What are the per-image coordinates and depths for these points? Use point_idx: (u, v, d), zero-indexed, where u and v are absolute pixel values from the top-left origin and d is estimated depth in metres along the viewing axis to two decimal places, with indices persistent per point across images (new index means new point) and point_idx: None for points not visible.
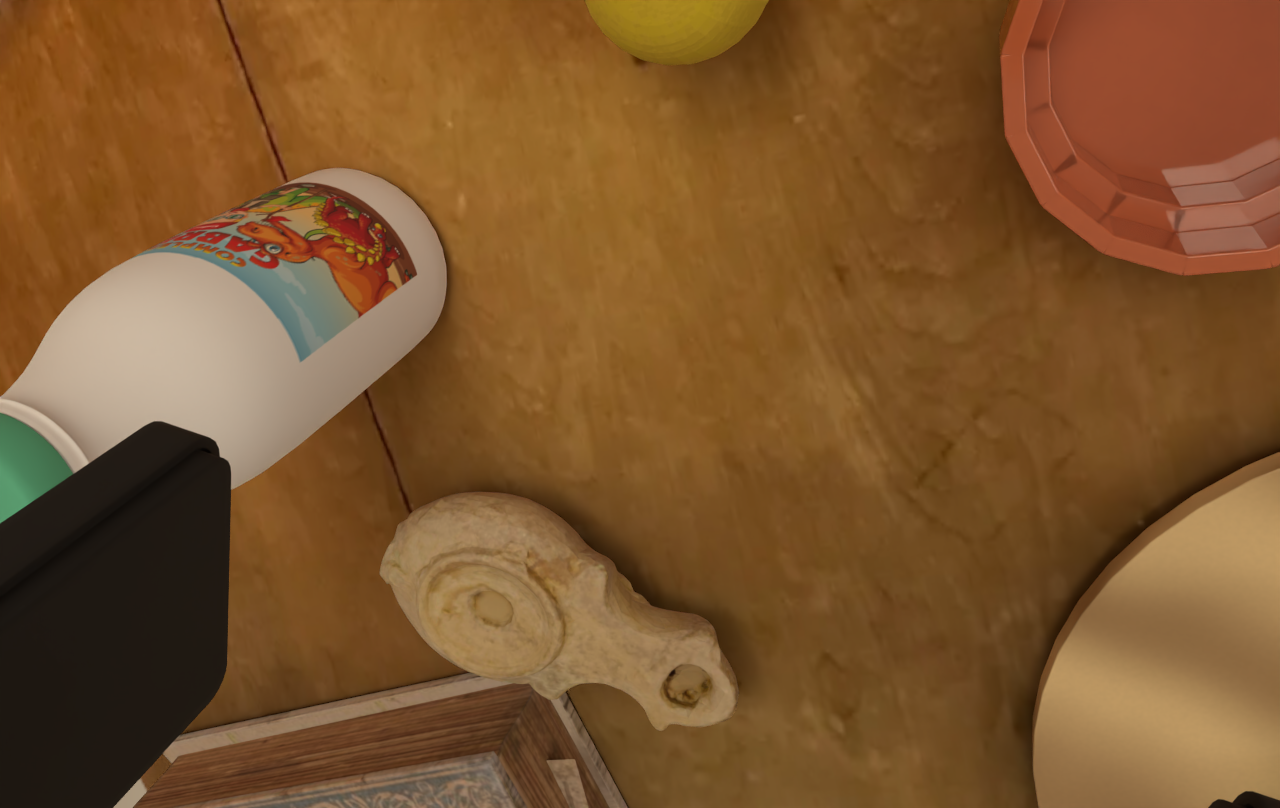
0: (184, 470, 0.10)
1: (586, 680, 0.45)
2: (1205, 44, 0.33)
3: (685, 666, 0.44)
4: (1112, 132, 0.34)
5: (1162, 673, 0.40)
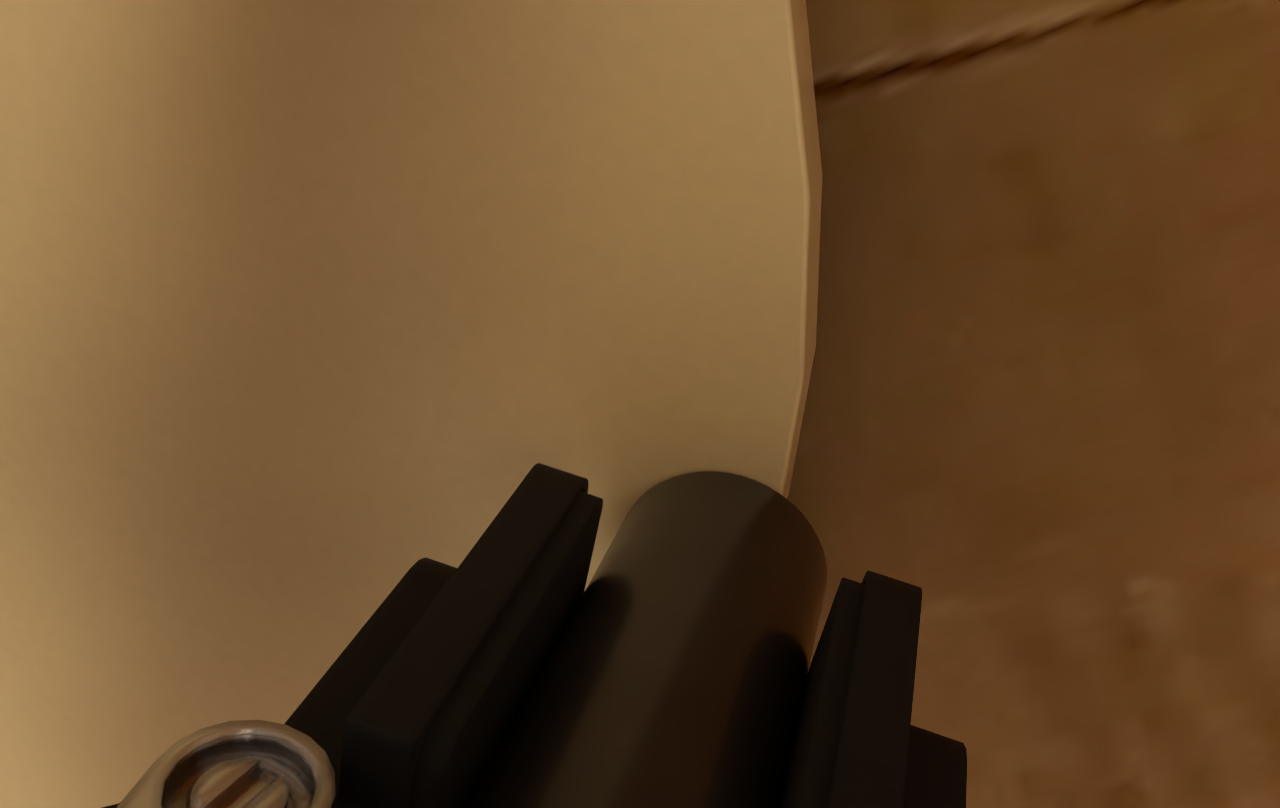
0: (578, 511, 0.10)
1: None
2: None
3: None
4: None
5: None
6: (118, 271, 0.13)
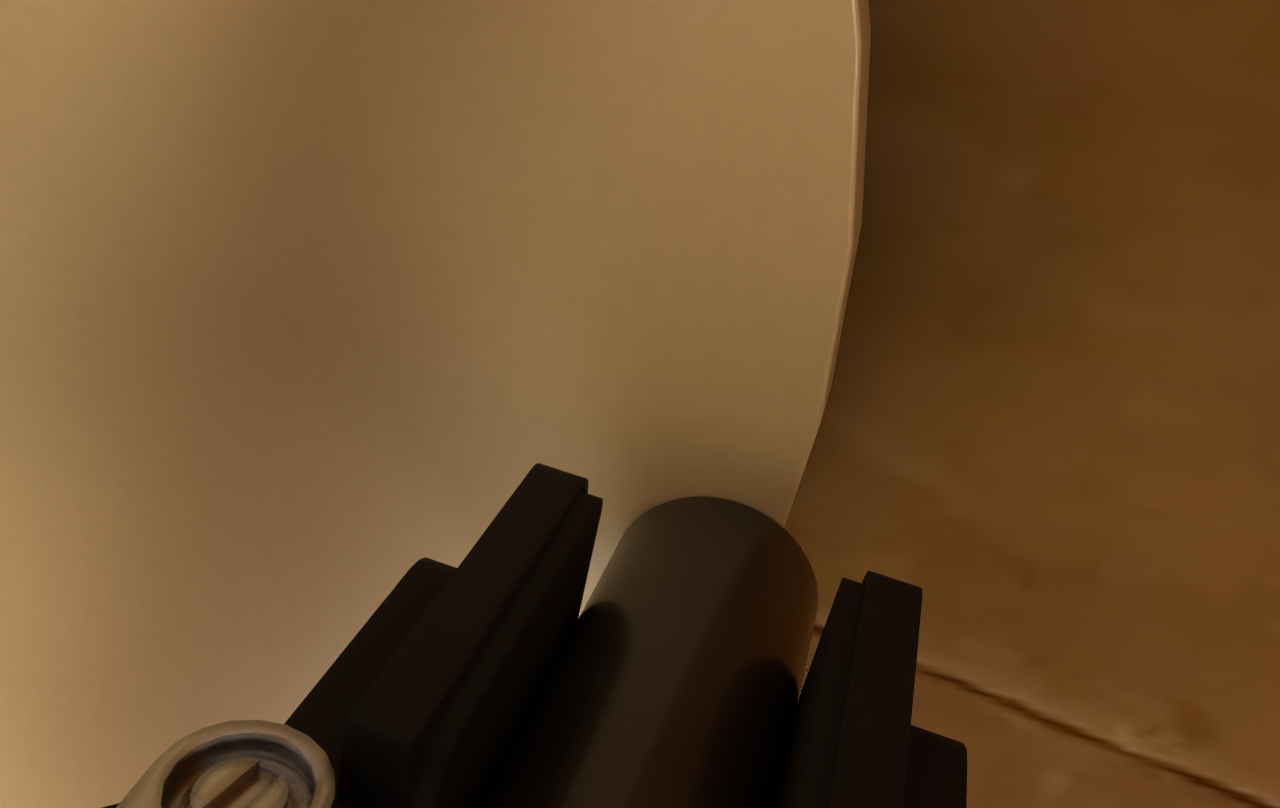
0: (578, 511, 0.10)
1: None
2: None
3: None
4: None
5: None
6: (131, 228, 0.13)
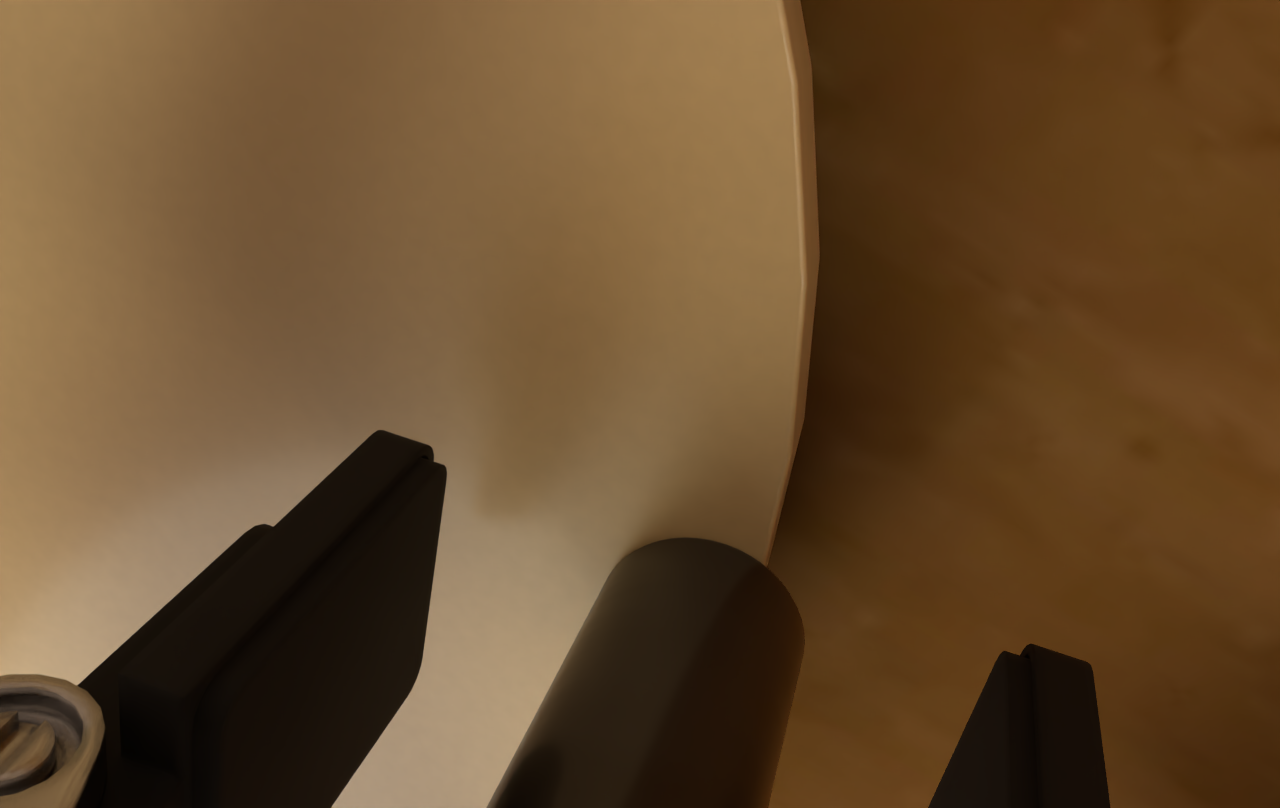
0: (415, 476, 0.10)
1: None
2: None
3: None
4: None
5: None
6: (108, 304, 0.13)
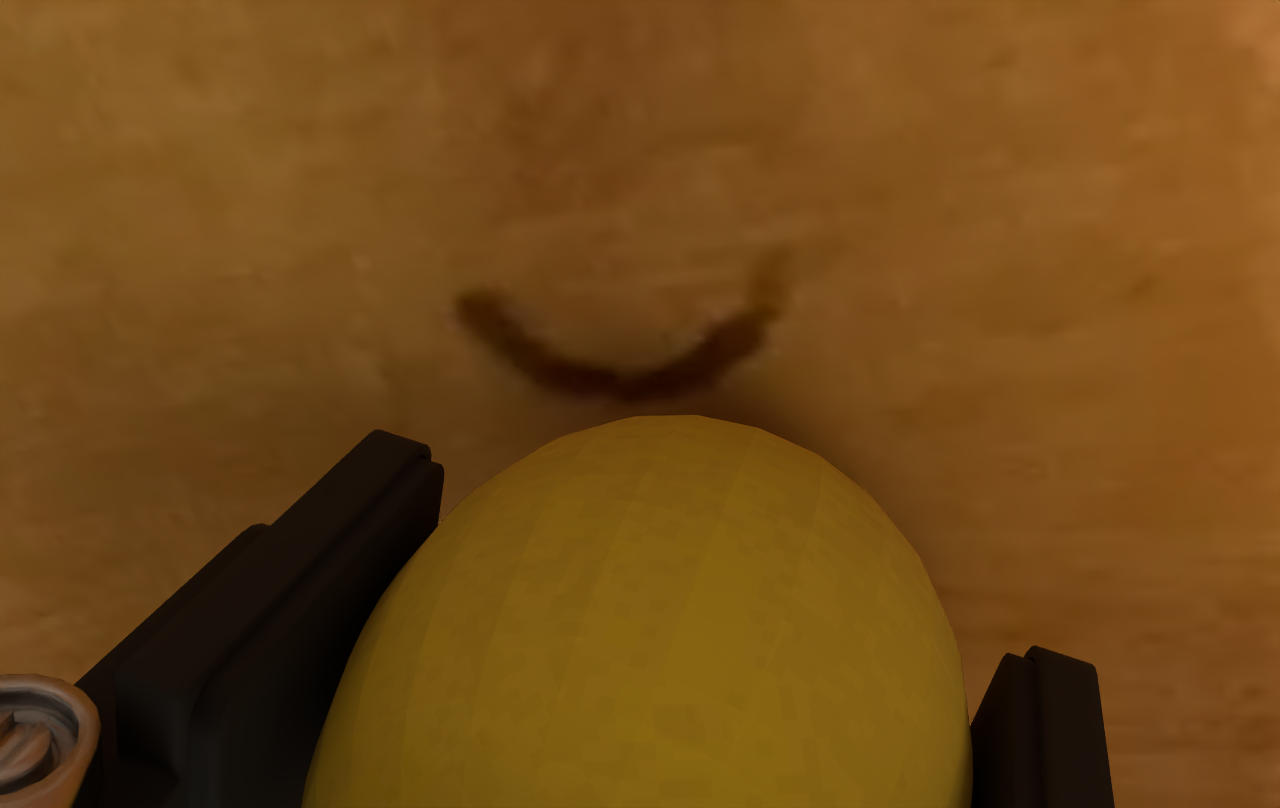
0: (411, 476, 0.10)
1: None
2: None
3: None
4: None
5: None
6: None
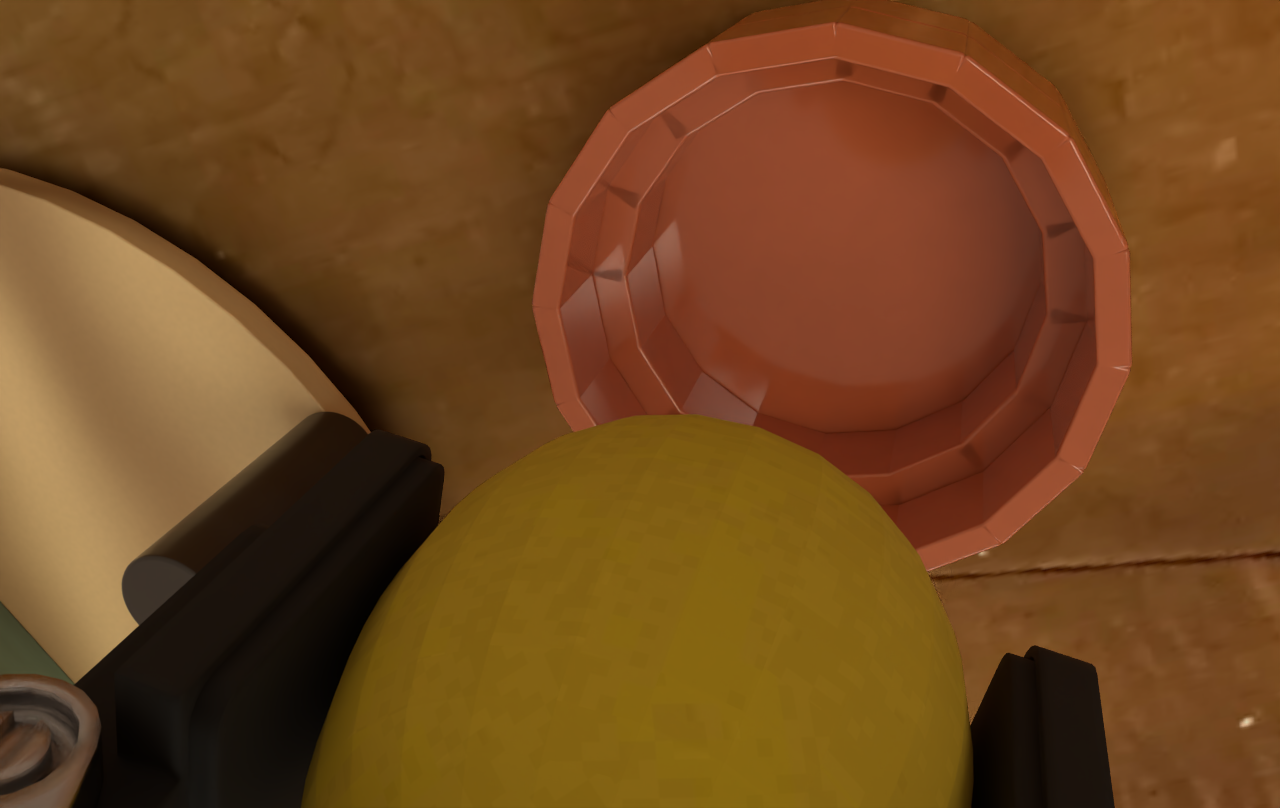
0: (412, 476, 0.10)
1: None
2: (834, 265, 0.25)
3: None
4: (720, 166, 0.25)
5: None
6: (129, 518, 0.33)
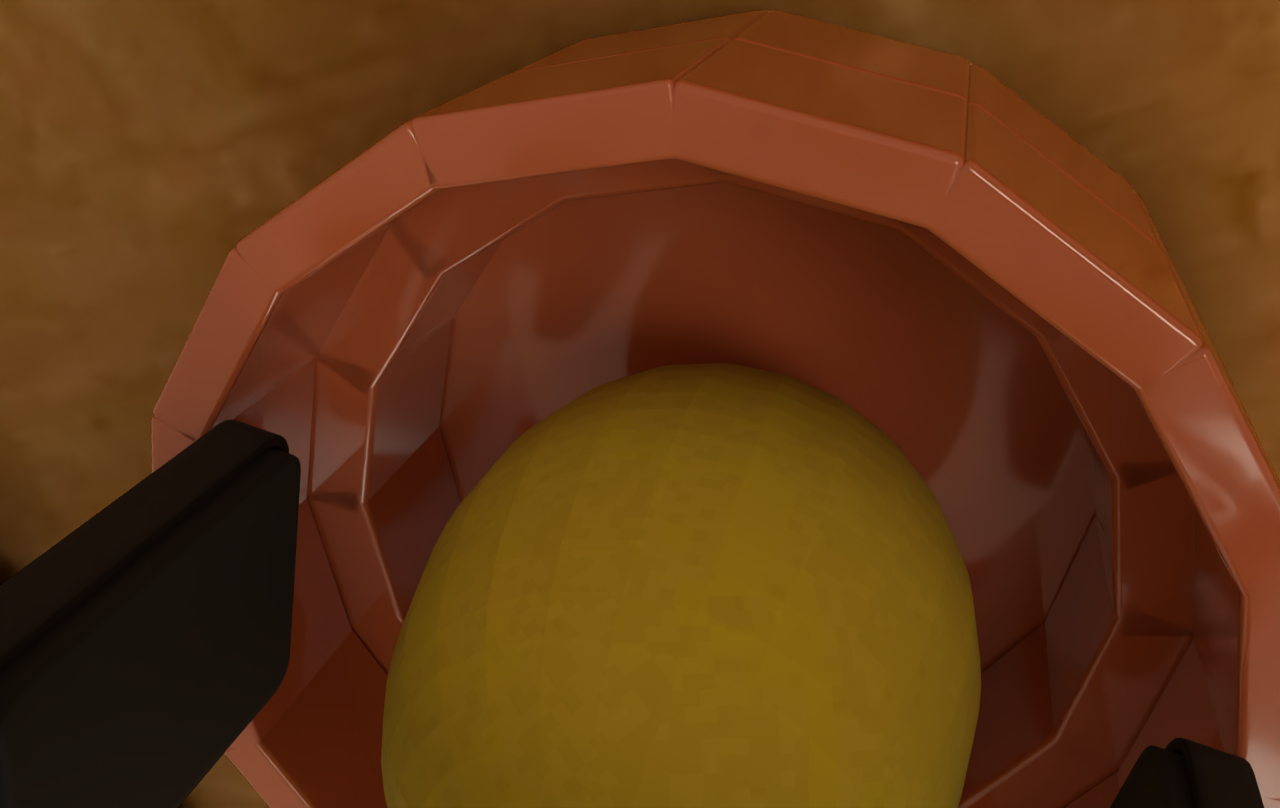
0: (259, 467, 0.10)
1: None
2: None
3: None
4: (540, 304, 0.15)
5: None
6: None
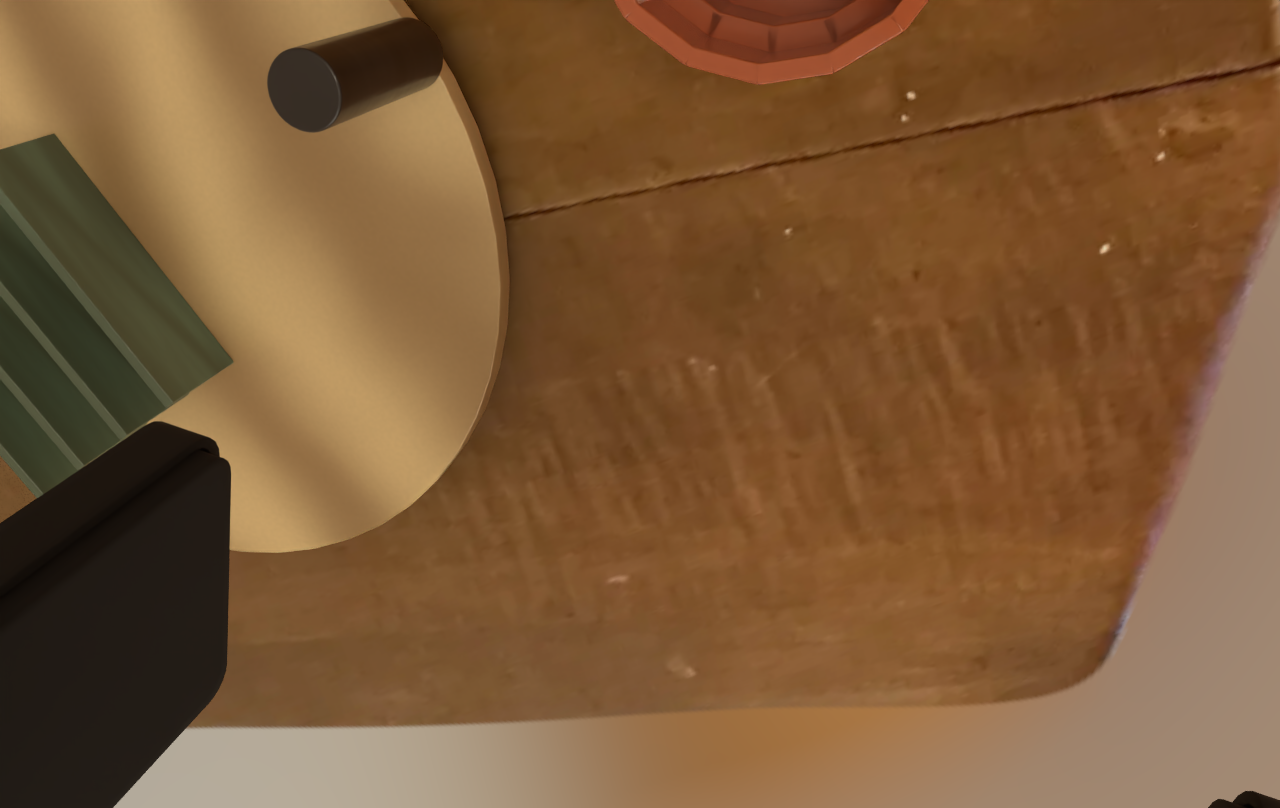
0: (184, 470, 0.10)
1: None
2: None
3: None
4: None
5: None
6: (241, 136, 0.41)
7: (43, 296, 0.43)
